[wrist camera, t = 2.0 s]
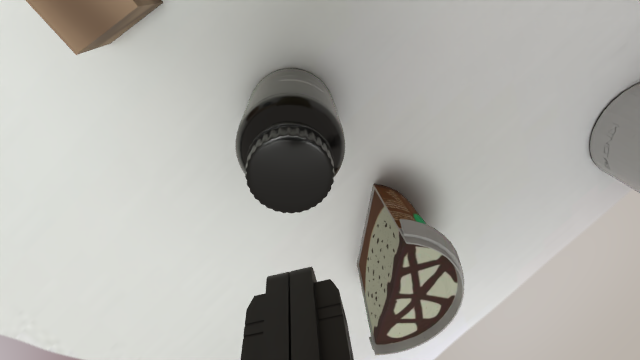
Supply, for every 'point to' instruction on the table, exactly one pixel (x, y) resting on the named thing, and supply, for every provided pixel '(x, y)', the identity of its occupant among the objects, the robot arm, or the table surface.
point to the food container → (406, 275)
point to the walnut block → (92, 19)
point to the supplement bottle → (290, 141)
